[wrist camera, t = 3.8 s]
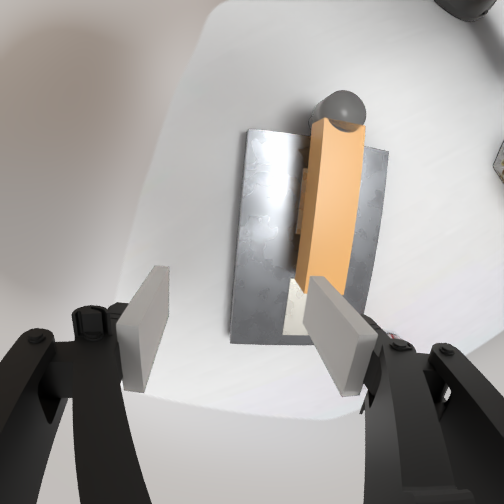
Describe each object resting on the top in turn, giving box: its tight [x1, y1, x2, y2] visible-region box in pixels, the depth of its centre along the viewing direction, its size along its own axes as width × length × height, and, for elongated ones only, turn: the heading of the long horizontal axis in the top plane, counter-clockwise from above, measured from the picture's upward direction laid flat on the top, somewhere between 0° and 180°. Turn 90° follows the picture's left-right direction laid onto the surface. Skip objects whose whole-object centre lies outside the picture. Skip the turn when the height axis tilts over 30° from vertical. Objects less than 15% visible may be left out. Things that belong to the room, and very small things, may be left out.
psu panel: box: [230, 129, 389, 345], centre depth 35 cm, size 24×16×3 cm, turn 175°
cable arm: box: [295, 90, 366, 295], centre depth 29 cm, size 19×4×4 cm, turn 175°
